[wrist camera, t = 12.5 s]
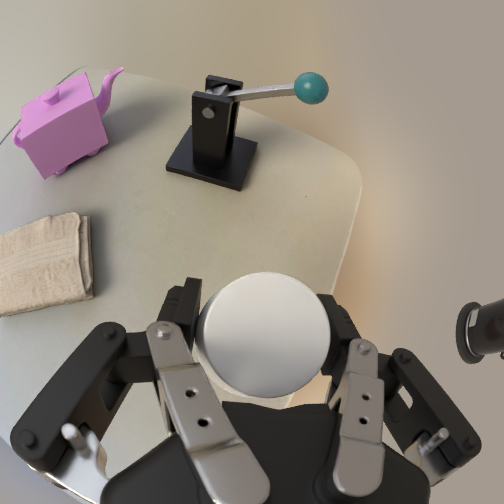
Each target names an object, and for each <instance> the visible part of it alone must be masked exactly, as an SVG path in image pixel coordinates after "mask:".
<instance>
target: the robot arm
mask: <svg viewBox="0 0 504 504" xmlns="http://www.w3.org/2000/svg"><path fill="white" fill-rule="evenodd" d="M201 287H202V279H197V278H190V277H187V279H186V282H185V285H184V287H181V286H174V287H173V288H171V289H170V290H169V291H168V293H167V296H166V298H165V301H164V304H163V306H162V308H161V311H160V313H159V316H158V318H157V321H156V322H154V323H152V324H150V325H149V326H148V327H147V330H146V331H144V332H136V333H126V330H125V328H124V327H123V326H122V325H120V324H118V323H115V322H104V323H101V324H99V325H97V326H96V327H95V328H94V329H93V330H92V331H91V333H90V334H89V335H88V336H87V337H86V338H85V339H84V340H83V341H82V343H81V344H80V345H79V346H78V347H77V348H76V349H75V351H74V352H73V353H72V354H71V355H70V356H69V358H68V359H67V360H66V361H65V362H64V363H63V365H62V366H61V367H60V368H59V369H58V371H57V372H56V373H55V374H54V375H53V377H52V378H51V379H50V380H49V382H48V383H47V384H46V385H45V387H44V388H43V389H42V390H41V392H40V393H39V394H38V395H37V397H36V398H35V399H34V401H33V402H32V403H31V404H30V406H29V407H28V408H27V410H26V411H25V412H24V414H23V415H22V416H21V418H20V419H19V420H18V422H17V423H16V425H15V426H14V427H13V429H12V431H11V435H10V442H11V446H12V448H13V450H14V451H15V452H16V454H17V455H18V456H19V457H21V458H22V459H23V460H24V461H25V462H26V463H27V464H28V465H29V466H30V467H31V468H32V469H33V470H34V471H36V472H37V473H38V474H39V475H41V476H42V477H43V478H45V479H46V480H48V481H49V482H51V483H53V484H54V485H55V486H57V487H59V488H61V489H68V490H70V491H71V492H73V493H74V494H76V495H78V496H80V497H81V498H83V499H85V500H87V501H88V502H90V503H92V504H429V498H430V487H433V486H435V485H436V484H438V483H439V482H441V481H442V480H444V479H445V478H447V477H448V476H450V475H451V474H453V473H454V472H455V471H457V470H458V469H459V468H461V467H462V466H464V465H465V464H466V463H467V462H469V461H470V460H471V459H472V458H474V457H475V456H476V455H477V454H478V453H479V452H480V450H481V440H480V438H479V436H478V435H477V433H476V432H475V430H474V429H473V427H472V426H471V425H470V424H469V422H468V421H467V419H466V418H465V417H464V415H463V414H462V413H461V412H460V410H459V409H458V408H457V406H456V405H455V404H454V403H453V401H452V400H451V399H450V397H449V396H448V395H447V394H446V392H445V391H444V390H443V389H442V387H441V386H440V385H439V384H438V382H437V381H436V380H435V379H434V377H433V376H432V375H431V374H430V373H429V372H428V370H427V369H426V368H425V367H424V366H423V364H422V363H421V362H420V361H419V360H418V359H417V357H416V356H415V355H414V354H413V353H412V352H411V351H409V350H407V349H404V348H397V349H395V350H394V351H393V353H392V355H391V356H390V355H386V354H381V353H378V350H377V348H376V346H375V345H374V344H372V343H371V342H370V341H368V340H365V339H362V338H361V336H360V335H359V333H358V331H357V329H356V327H355V325H354V324H353V322H352V320H351V319H350V316H349V314H348V313H347V311H346V310H345V309H344V308H343V307H341V306H340V305H337V303H336V301H335V299H334V298H333V296H332V295H327V294H317V295H316V296H317V297H318V298H319V300H320V301H321V303H322V305H323V306H324V308H325V311H326V313H327V316H328V320H329V324H330V346H329V350H328V354H327V357H326V359H325V362H324V364H323V366H322V367H321V369H320V370H321V373H322V375H331V376H332V379H331V381H330V383H329V386H328V390H327V394H326V398H325V402H324V404H304V405H299V406H295V407H290V408H286V409H281V410H277V409H272V408H268V407H263V406H259V405H255V404H252V403H241V402H228V401H222V405H221V403H220V402H219V400H218V398H217V396H216V394H215V392H214V390H213V388H212V386H211V384H210V382H209V379H208V377H207V375H206V373H205V371H204V369H203V367H202V365H201V364H200V363H199V362H198V363H195V362H194V360H193V358H192V355H191V354H192V349H193V343H194V338H195V330H196V324H197V320H198V317H199V309H200V298H201ZM464 339H465V345H466V348H467V350H468V352H469V353H470V354H471V355H472V356H474V357H478V356H481V355H487V354H492V353H498V352H501V356H500V357H501V358H502V359H504V356H503V354H504V299H501V300H499V301H496V302H493V303H490V304H487V305H484V306H481V307H477V308H474V309H472V310H470V311H469V313H468V315H467V317H466V320H465V325H464ZM141 382H152V383H153V387H154V390H155V393H156V397H157V400H158V403H159V407H160V410H161V413H162V417H163V421H164V425H165V428H166V431H167V434H168V438H167V439H165V440H164V441H163V442H161V443H160V444H159V445H157V446H156V447H155V448H153V449H152V450H151V451H149V452H148V453H147V454H145V455H144V456H143V457H141V458H140V459H138V460H137V461H136V462H134V463H133V464H131V465H130V466H129V467H127V468H126V469H124V470H123V471H121V472H120V473H118V474H117V475H115V476H114V477H112V478H111V479H109V478H107V476H106V473H105V466H106V462H107V454H106V451H105V449H104V448H103V446H102V445H101V443H100V441H101V439H102V438H103V436H104V434H105V432H106V430H107V428H108V427H109V425H110V423H111V421H112V420H113V418H114V416H115V414H116V412H117V411H118V409H119V407H120V405H121V404H122V402H123V400H124V398H125V397H126V395H127V393H128V391H129V390H130V388H131V386H132V385H133V383H141ZM402 386H404V387H405V389H406V390H407V391H408V393H409V394H410V395H411V397H412V399H413V404H412V406H411V408H410V409H409V408H408V406H407V405H406V403H405V402H404V400H403V399H402V398H401V396H400V395H399V393H398V391H399V389H401V387H402ZM383 421H384V423H385V424H386V426H387V428H388V429H389V431H390V433H391V434H392V436H393V438H394V439H395V441H396V442H397V444H398V446H399V447H400V449H401V451H402V453H403V454H404V457H403V456H402V455H400V454H399V453H398V452H396V451H394V450H393V449H392V448H390V447H389V446H387V445H386V444H385V443H383V442H382V428H383Z"/></svg>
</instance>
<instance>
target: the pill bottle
mask: <svg viewBox="0 0 504 504" xmlns="http://www.w3.org/2000/svg"><path fill="white" fill-rule="evenodd" d="M329 346H330V324H329V320H328V316H327V313H326V311H325V308H324V306H323V305H322V303H321V301H320V300H319V298H318V297H317V296H316V294H315V293H314V292H313V291H312V290H311V289H310V288H309V287H307V286H306V285H305V284H304V283H302V282H301V281H299V280H297V279H295V278H293V277H291V276H288V275H285V274H281V273H276V272H258V273H253V274H249V275H246V276H243V277H241V278H239V279H237V280H235V281H233V282H232V283H230V284H229V285H227V286H225V287H224V288H222V289H221V290H219V291H218V292H217V293H215V294H214V295H213V296H212V297H211V298H210V299H209V301H208V302H207V303H206V305H205V306H204V308H203V309H202V311H201V313H200V315H199V317H198V320H197V324H196V330H195V347H196V353H197V356H198V359H199V361H200V364H201V365H202V367H203V369H204V371H205V372H206V374H207V375H208V376H209V377H210V378H211V380H212V381H214V382H215V383H216V384H217V385H218V386H220V387H221V388H223V389H224V390H226V391H228V392H230V393H232V394H235V395H238V396H242V397H247V398H276V397H281V396H285V395H288V394H291V393H293V392H295V391H297V390H299V389H301V388H302V387H303V386H305V385H306V384H307V383H309V382H310V381H311V380H312V379H313V378H314V377H315V376H316V375H317V373H318V372H319V370H320V369H321V367H322V366H323V364H324V362H325V359H326V357H327V354H328V350H329Z"/></svg>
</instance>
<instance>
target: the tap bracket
mask: <svg viewBox="0 0 504 504" xmlns="http://www.w3.org/2000/svg"><path fill="white" fill-rule="evenodd" d="M226 85H227V86H228V88H229V90H230V92H231V91H237V90H242V87H243V82H241V81H236V80H232V79H227V78H223V77H218V76H212V75H208V77H207V78H206V85H205V91H206V90H207V89H211V88H216V87H221V86H226ZM232 101H233V99H231V98H227V97H223V96H218V95H213V94H209V93H204V92H199V91H195V92H194V93H193V95H192V125H190V127H189V128H188V130H187V132H186V133H185V135H184V136H183V138H182V139H181V141H180V143H179V144H178V146H177V147H176V149H175V151H174V152H173V154H172V156H171V157H170V159H169V161H168V162H167V164H166V171H169V172H173V173H177V174H181V175H184V176H188V177H192V178H195V179H199V180H202V181H206V182H209V183H213V184H216V185H220V186H223V187H226V188H230V189H233V190H236V191H240V190H241V187H242V185H243V182H244V179H245V177H246V174H247V171H248V169H249V166H250V163H251V161H252V158H253V156H254V153H255V150H256V148H257V144H258V143H257V142H254V141H251V140H247V139H244V138H240V137H236V136H235V129H236V123H237V117H238V111H239V105H240V101H238V102H233V104H232Z"/></svg>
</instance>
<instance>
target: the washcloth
mask: <svg viewBox="0 0 504 504" xmlns="http://www.w3.org/2000/svg"><path fill="white" fill-rule="evenodd" d="M92 283H93V264H92V256H91V238H90V217H89V216H79V214H78V213H77V212H72V213H67V214H62V215H56V216H50V215H49V216H45V217H44V218H42V219H40V220H37V221H35V222H32V223H29V224H26V225H23V226H21V227H18V228H16V229H14V230H12V231H9V232H6V233H4V234H1V235H0V318H1V317H2V316H3V317H4V316H8V315H10V316H11V315H12V314H17V313H21V312H27V311H32V310H38V309H41V308H45V307H47V306H48V307H49V306H55V305H57V304H63V303H71V302H76V301H81V300H85V299H86V300H88V299H91V298H93V297H94V295H93V289H92Z"/></svg>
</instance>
